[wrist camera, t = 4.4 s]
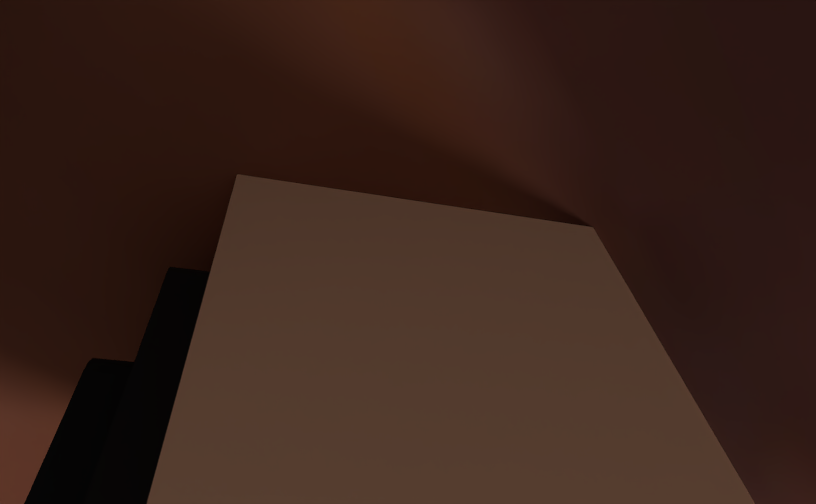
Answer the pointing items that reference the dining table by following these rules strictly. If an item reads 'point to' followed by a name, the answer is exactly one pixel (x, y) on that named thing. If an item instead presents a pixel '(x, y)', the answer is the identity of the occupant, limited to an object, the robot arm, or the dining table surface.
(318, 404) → the housing
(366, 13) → the dining table surface
